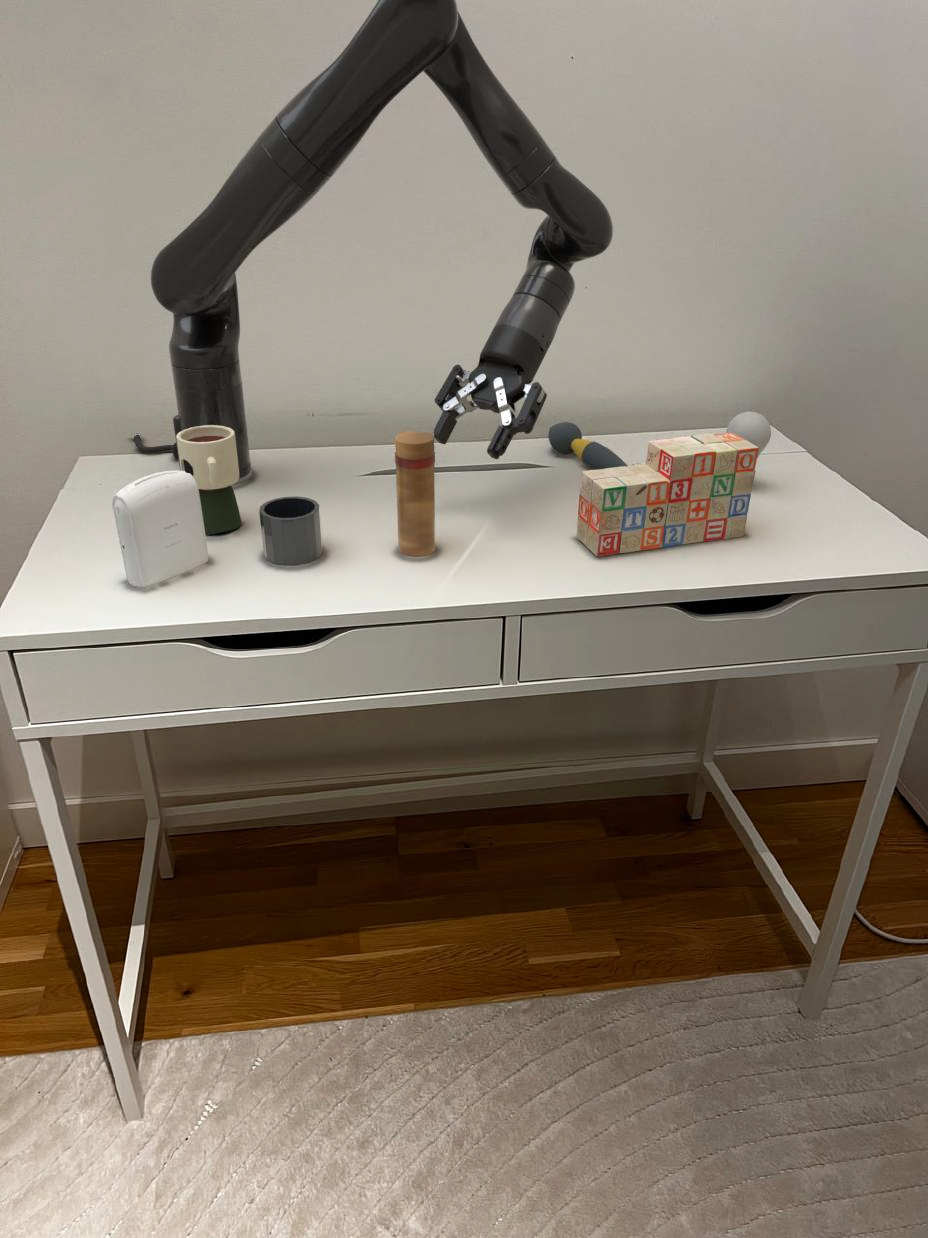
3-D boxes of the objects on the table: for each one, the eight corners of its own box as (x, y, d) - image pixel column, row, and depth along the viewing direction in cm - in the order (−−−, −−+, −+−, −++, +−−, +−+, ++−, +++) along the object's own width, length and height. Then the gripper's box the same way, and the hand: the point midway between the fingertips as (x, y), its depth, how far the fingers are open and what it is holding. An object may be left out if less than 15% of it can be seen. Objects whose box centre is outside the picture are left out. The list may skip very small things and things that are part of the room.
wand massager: (646, 478, 144) (650, 445, 141) (623, 485, 141) (626, 452, 139) (556, 442, 157) (557, 412, 155) (533, 448, 155) (534, 418, 152)
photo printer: (142, 594, 111) (124, 493, 105) (121, 582, 114) (102, 483, 108) (215, 563, 118) (202, 468, 112) (193, 553, 121) (180, 459, 115)
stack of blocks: (596, 558, 120) (604, 464, 114) (575, 538, 125) (582, 447, 119) (745, 536, 126) (760, 445, 120) (719, 517, 132) (732, 430, 125)
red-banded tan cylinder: (392, 557, 120) (388, 441, 113) (405, 541, 124) (403, 428, 117) (428, 562, 119) (426, 445, 112) (440, 547, 123) (440, 432, 115)
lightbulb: (715, 490, 140) (726, 416, 135) (722, 475, 145) (733, 403, 140) (758, 496, 138) (771, 421, 133) (764, 481, 143) (776, 409, 138)
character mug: (185, 516, 130) (172, 423, 124) (239, 510, 133) (228, 417, 126) (194, 550, 122) (180, 451, 115) (251, 542, 124) (240, 444, 117)
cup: (254, 564, 118) (248, 514, 115) (281, 540, 124) (276, 493, 121) (307, 572, 116) (303, 522, 113) (332, 548, 122) (328, 500, 119)
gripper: (464, 314, 126) (408, 422, 123) (556, 331, 118) (498, 446, 116) (488, 347, 132) (435, 450, 130) (577, 365, 124) (522, 475, 122)
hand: (465, 448), depth 123 cm, fingers open, 8 cm apart
